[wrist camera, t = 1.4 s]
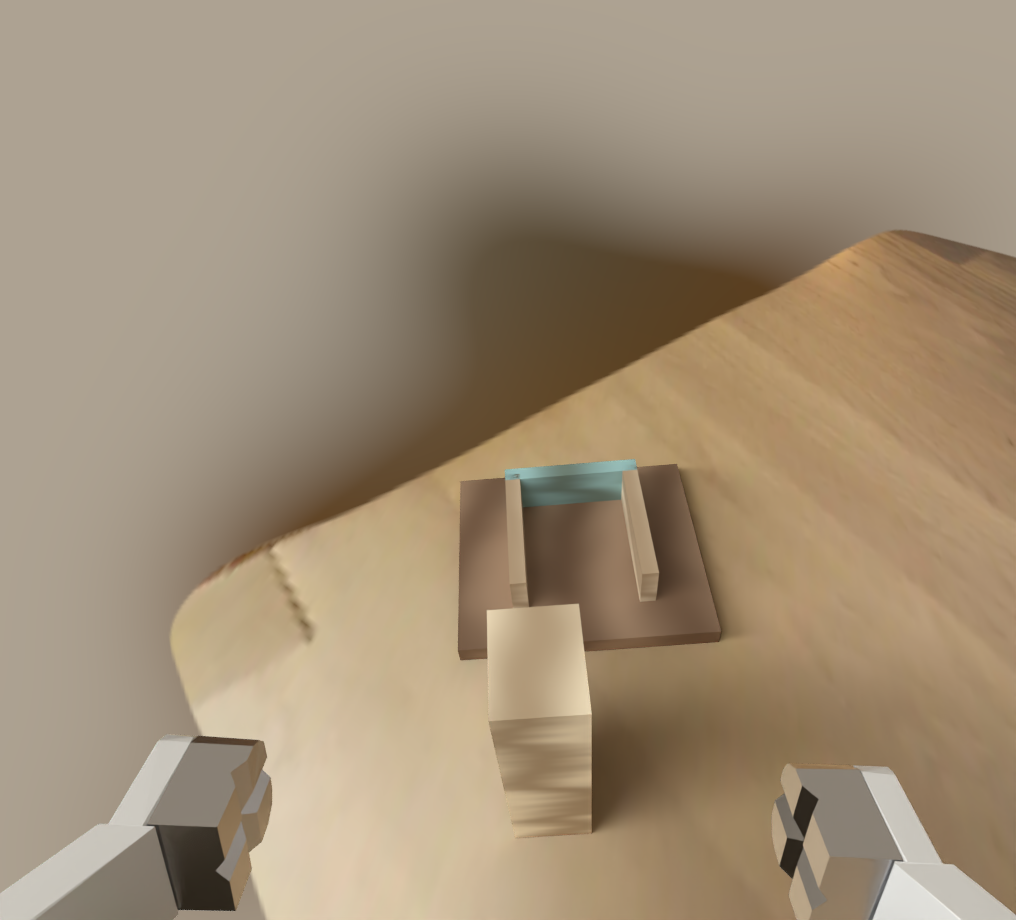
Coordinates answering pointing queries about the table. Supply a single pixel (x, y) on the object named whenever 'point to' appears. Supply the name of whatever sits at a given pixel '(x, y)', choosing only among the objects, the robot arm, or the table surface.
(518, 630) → the tan tall rectangular block
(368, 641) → the table surface
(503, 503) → the dock
